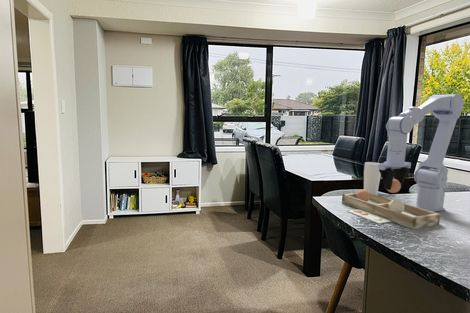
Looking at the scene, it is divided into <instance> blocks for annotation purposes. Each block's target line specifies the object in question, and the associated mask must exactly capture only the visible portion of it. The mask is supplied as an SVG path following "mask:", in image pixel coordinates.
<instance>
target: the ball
mask: <svg viewBox="0 0 470 313" xmlns="http://www.w3.org/2000/svg"><path fill="white" fill-rule="evenodd" d="M356 193H357V199H360V200H363V201H366V202H367V201H368V200H369V199H370V194H369V192H368V191H367V190H364V189H359V190H358V191H357V192H356Z"/></svg>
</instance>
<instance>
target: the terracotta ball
mask: <svg viewBox="0 0 470 313" xmlns="http://www.w3.org/2000/svg"><path fill="white" fill-rule="evenodd" d="M400 188H401V189H402V187H401V184H400V182H399V181H398V180H396V179H395V178H393V181H392V186H391V189H390V190H387V191H388V192H389V193H393V194H395V193H398V192H400V190H401V189H400Z"/></svg>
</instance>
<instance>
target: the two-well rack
mask: <svg viewBox="0 0 470 313" xmlns="http://www.w3.org/2000/svg"><path fill="white" fill-rule="evenodd" d="M369 194H370V199H369V200H368V201H367V202H366V201H363V200H360V199H357V192H354V193H353V192H352V193H344V194H342V198H341V204H344V205H346V206H349V207H352V208H355V209H360V210H363V211H366V212H369V213H371V214H374V215H377V216H380V217H382V218H385V219H388V220H391V221H392V223H395V224H398V225H401V226H403V227H406V228H409V229H411V230H417V229H421V228H427V227H432V226H436V225H440V221H441V213H439V212H436V211H435V212H432V211H429V210H425V209H422V208H418V207H415V206H412V205H413V204H408V203H404V202H403V203H404V206H405V207H404V210H403V212H401V213H400V212H397V211H394V210H391V209H389V203H390V202H391V201H392V200H393V199H392V198H387V197H385V196H381V195H378V194H377V195H375V194H371V193H369Z"/></svg>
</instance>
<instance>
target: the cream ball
mask: <svg viewBox="0 0 470 313" xmlns="http://www.w3.org/2000/svg"><path fill="white" fill-rule="evenodd" d="M404 207H405V206H404V202H403V201H402V200H400V199H397V198H395V199H392V201H391V202H390V203H389V209H391V210H394V211H397V212H400V213H401V212H403V210H404Z"/></svg>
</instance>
